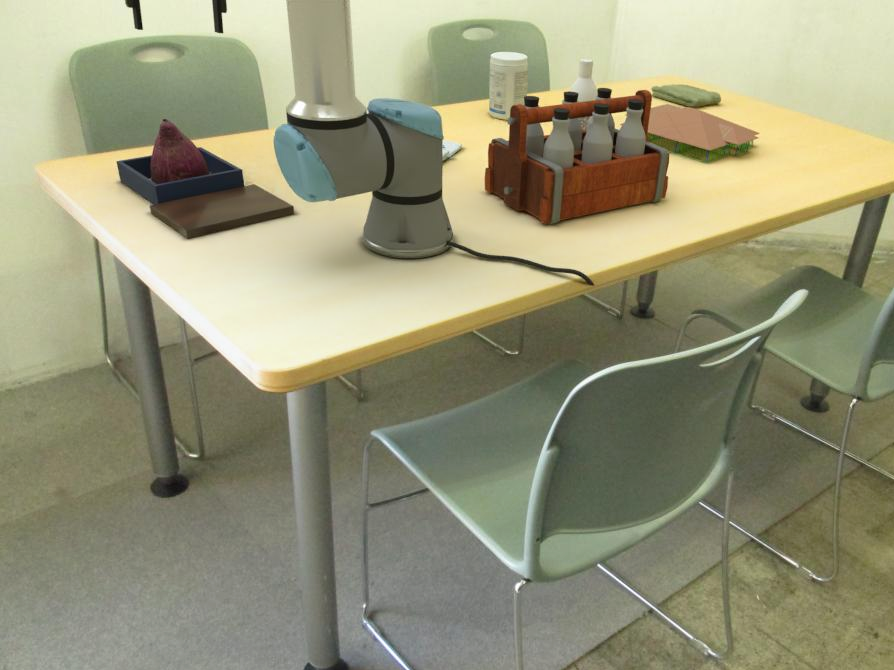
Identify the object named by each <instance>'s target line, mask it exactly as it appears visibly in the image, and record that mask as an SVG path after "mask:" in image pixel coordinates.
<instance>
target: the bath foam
mask: <svg viewBox="0 0 894 670" xmlns="http://www.w3.org/2000/svg"><path fill="white" fill-rule="evenodd" d="M593 67H594V60H593V59H590V58H580V59H579V67H578V76H577V78H576V79H575V81H574V83H573V84H572V85H571V86H570V88H569V91H570V92H576V93H579V95H578V99H577V101H578V102H585V101H593V100H596V96H598V93H597V89H598V88H597V86H596V84H595V82H594V80H593V78H592V76H593ZM589 118H590V116H589V117H582V118H579V120H580V123H581V126H582V130H586V129H587V123H588V120H589Z"/></svg>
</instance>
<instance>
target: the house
mask: <svg viewBox="0 0 894 670" xmlns="http://www.w3.org/2000/svg"><path fill="white" fill-rule="evenodd" d="M625 117H627V113H626V114H625ZM623 124H624V122H623V123H622V122H621V123H620V124H619V125H620V126H622V125H623ZM759 134H760V132H758V131H756V130H752V129H751V128H748V127H745V126H743V125H740V124H737V123H735V122H732V121H729V120H727V119H724V118H721V117H719V116H717V115H714V114H711V113H709V112H706V111H704V110H701V109H698V108H696V107H690V106H685V107H680V106H676V105H673V104H669V103H666V104H661V105H656V106H653V107H651V110H650V117H649V125H648V137H649V142H651V141H655V143H654V144H655V145H657V146H662V143H663V145H665V144H666V145H669V144H670V146H669V147H668V146H666V147H665V149H666V150H667V149H668V150H667V151H668V153H672V154H675V155H679V156H682V157H686V158H689V159H693V160H695V161H699V162H702V163H706V164H707V163H711V162H713V161H715V160H718V159H721V158H723V157H727V156H733V157H737V156H741V155H743V154H746V153H748V150H749V148H752V147H753V145H754V141H755V140H758V139H759V138H760V137H759V136H757V135H759ZM660 138H661V139H663V138H664V139H667V140H664V141H663V140H660V141H659V139H660ZM669 140H670V141H669ZM666 141H667V142H666ZM671 141H672V142H671ZM657 142H658V143H657ZM671 145H672V147H671ZM693 148H694V149H693ZM731 149H733V150H732V152H734V150H735V154H734V153H731ZM671 150H672V151H671ZM686 151H689V152H693V154H692V153H690V154H689V153H687V154H686V153H684V154H683V152H686ZM698 151H699V152H698ZM701 152H702V153H701ZM680 153H681V154H680ZM695 153H697V154H696V156H695ZM698 154H699V155H698ZM703 154H704V155H706V157H704V155H703ZM733 154H734V155H733ZM688 155H689V156H688ZM701 155H702V157H701ZM694 157H695V158H694ZM697 157H698V159H697ZM700 158H701V160H700ZM705 158H706V160H705Z"/></svg>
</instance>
